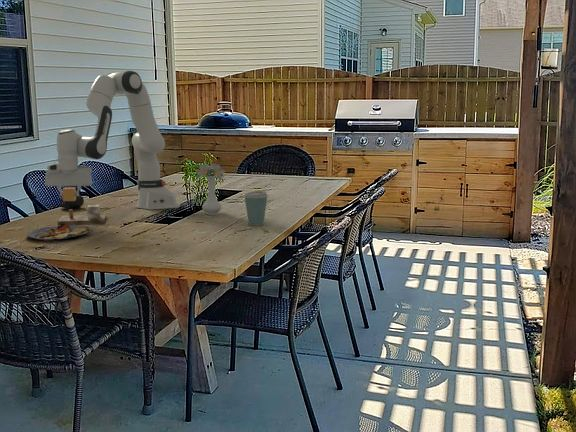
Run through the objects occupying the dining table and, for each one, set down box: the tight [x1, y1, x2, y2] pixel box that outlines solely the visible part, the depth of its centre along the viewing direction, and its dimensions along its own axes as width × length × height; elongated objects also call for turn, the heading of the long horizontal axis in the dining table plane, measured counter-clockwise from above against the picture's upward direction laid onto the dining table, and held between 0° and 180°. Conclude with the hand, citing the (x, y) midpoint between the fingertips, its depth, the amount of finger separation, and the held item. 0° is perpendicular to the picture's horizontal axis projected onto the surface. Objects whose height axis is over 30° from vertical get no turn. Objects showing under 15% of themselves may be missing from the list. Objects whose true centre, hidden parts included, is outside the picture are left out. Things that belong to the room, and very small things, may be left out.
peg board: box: [57, 204, 107, 226], centre depth 301 cm, size 20×14×7 cm
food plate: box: [25, 224, 91, 242], centre depth 270 cm, size 25×23×4 cm
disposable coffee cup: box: [243, 190, 268, 227], centre depth 294 cm, size 11×11×15 cm
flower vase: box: [196, 162, 226, 216], centre depth 319 cm, size 13×18×25 cm
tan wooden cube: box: [62, 187, 77, 201], centre depth 298 cm, size 5×5×6 cm
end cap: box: [59, 194, 85, 211], centre depth 332 cm, size 10×7×7 cm
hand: (69, 195), depth 298 cm, fingers closed on tan wooden cube, 5 cm apart
